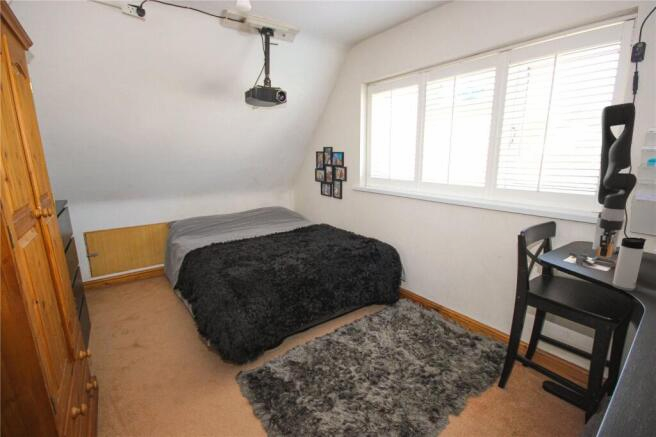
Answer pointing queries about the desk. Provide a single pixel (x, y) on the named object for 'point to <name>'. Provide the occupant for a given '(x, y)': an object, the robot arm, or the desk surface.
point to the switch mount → (580, 259)
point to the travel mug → (628, 263)
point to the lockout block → (609, 252)
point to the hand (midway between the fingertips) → (604, 254)
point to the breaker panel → (573, 260)
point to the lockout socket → (604, 262)
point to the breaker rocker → (583, 259)
